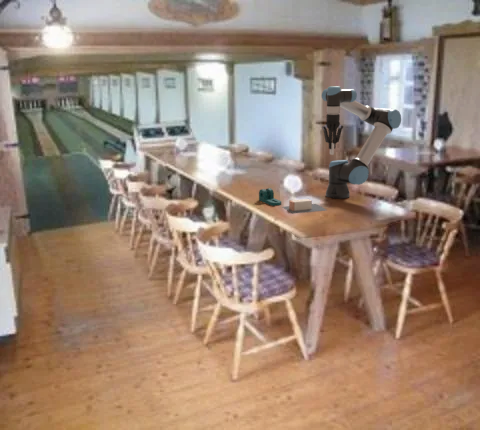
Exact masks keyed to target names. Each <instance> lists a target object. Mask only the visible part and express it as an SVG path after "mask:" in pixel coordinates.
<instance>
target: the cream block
mask: <svg viewBox="0 0 480 430" xmlns="http://www.w3.org/2000/svg"><path fill="white" fill-rule="evenodd" d="M288 202H289V204H288V206H289V209H290V210H292V211H296V210H307V209H312V204H313V200H311V199H309V198H302V199H300V198H299V199H292V200H289V201H288Z"/></svg>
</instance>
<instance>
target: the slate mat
mask: <svg viewBox="0 0 480 430" xmlns="http://www.w3.org/2000/svg"><path fill="white" fill-rule="evenodd" d="M282 208H283V209H284V210H286V211H288V212H289V213H290V214H293V215H294V214H301V213H302V214H303V213H315V212H322V211H324V212H325V211H327V209H326V208H324V207H323V206H321V205H319V204H318V203H312V209H307V210H296V211H292V210H290V209H289V205H288V206H282Z"/></svg>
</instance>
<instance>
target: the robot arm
mask: <svg viewBox="0 0 480 430" xmlns="http://www.w3.org/2000/svg"><path fill="white" fill-rule="evenodd" d="M357 97H358V96H357V91H356V90H355V89H354V88H348V89H347V88H341V86H340V85H338V86H337V85H336V86H333V85H331V86H328V87H327V88H325V89H323V91H322V93H321V98H322V100H323V101H324V102H326V116H325V117H326V119H325V121H326V122H325V125H322V126H321V128H322V130H323V135H324V139H325V140H324V141H325V143H327V144H328V149H329V155H331V156H334V155H335V150H336V145H337V143H339V142H340V139H341V135H342V134H341V133H342V131H343V128H344V125H341V122H340V116H341V115H340V113H341V112H340V111H341V109H343V110H346V111H347V112H349V113H350V114H353V115H356V116H357V117H359V119H360V120H361V121H363V122H365V123H367V124H369V125H371V126H373V127H374V128H373V129H372V131H371V132H370V134H369V136H368V138H367V139H366V141H365V142H364V144H363V146H362V147H361V149H360V150H359V152H358V154H357V155H356V157H355V158H354V157H353V158H352V159H351V160H350V161H348V160H349V159H337V160H332V161H330V162H329V164H328V165H329V166H328V185H327V188H326V190H325V197H327V198H331V199H340V200H341V199H347V198H350V189H349V185H348V184H352V185H358V186H359V185H363V184H365V182H366V181H367V180H368V178H369V173H370V172H369V169H370V168H369V164H370V163H371V161H372V159H373V158H374V156H375V154H376V153H377V151H378V150H379V148H380V146H381V144H382V143H383V141H384V139H385V138H386V136H387V135H389V134H391V133H392V131H393V130H394V129H398V128H400V126H401V124H402V115H401V113H400V111H399V110H398V109H394V108H384V107H383V108H382V107H374V106H373V107H372V106H370V105H364V104H362V103H361V102H359V101H357Z"/></svg>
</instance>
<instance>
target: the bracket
mask: <svg viewBox="0 0 480 430" xmlns="http://www.w3.org/2000/svg"><path fill="white" fill-rule="evenodd" d="M274 197H275V194H274V190H273V188H272V187H269V188H261V189H260V190H259V191H258V201H259V202H261V201H262V203H264V204H266V205H269V206H271V207H275V206H280V205H282V200H280V199H277V198H274Z"/></svg>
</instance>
